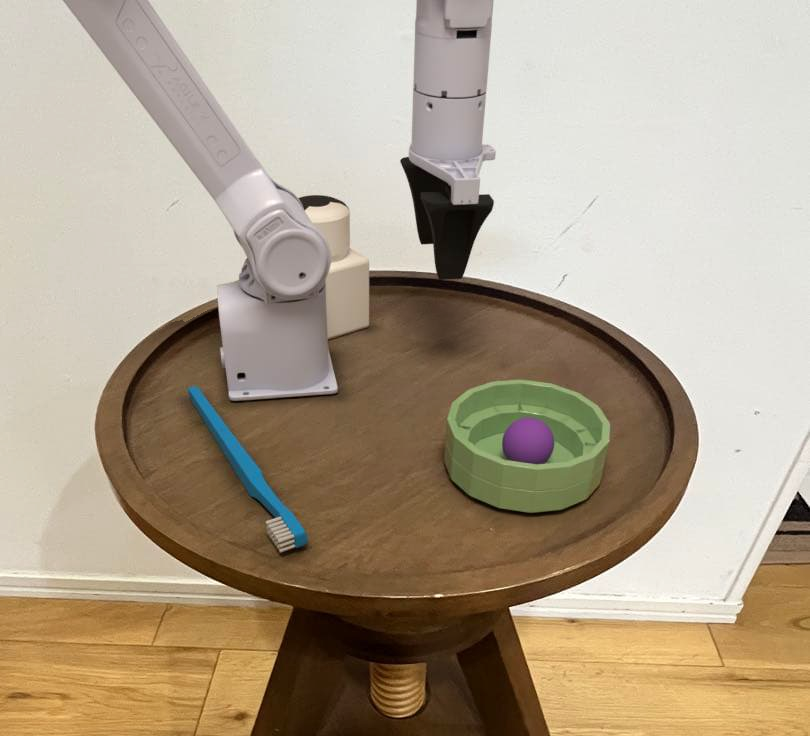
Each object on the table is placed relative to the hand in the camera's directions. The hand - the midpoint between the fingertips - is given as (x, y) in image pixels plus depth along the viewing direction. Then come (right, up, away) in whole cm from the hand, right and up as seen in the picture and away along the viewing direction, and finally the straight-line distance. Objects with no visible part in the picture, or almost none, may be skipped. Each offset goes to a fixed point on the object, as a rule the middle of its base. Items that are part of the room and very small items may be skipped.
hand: (440, 259), depth 75 cm
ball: (+6, -17, -9) cm, 21 cm away
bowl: (+6, -19, -7) cm, 21 cm away
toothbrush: (-15, -18, -9) cm, 25 cm away
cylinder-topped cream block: (-12, -3, +11) cm, 16 cm away
